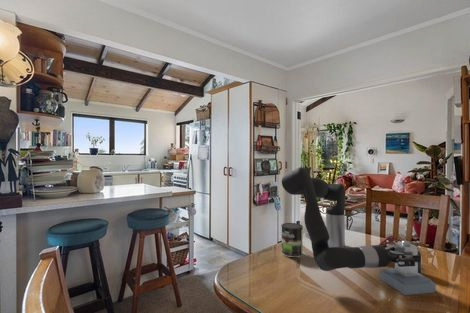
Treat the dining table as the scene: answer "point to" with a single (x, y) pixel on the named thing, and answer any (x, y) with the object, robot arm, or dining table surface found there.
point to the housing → (406, 250)
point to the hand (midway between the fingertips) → (410, 253)
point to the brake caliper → (390, 239)
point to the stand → (407, 283)
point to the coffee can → (292, 239)
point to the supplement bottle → (418, 262)
